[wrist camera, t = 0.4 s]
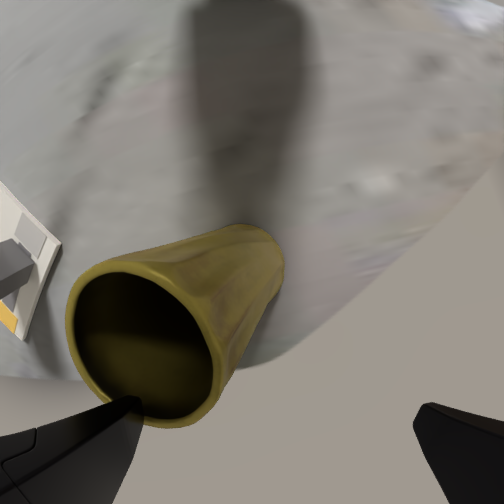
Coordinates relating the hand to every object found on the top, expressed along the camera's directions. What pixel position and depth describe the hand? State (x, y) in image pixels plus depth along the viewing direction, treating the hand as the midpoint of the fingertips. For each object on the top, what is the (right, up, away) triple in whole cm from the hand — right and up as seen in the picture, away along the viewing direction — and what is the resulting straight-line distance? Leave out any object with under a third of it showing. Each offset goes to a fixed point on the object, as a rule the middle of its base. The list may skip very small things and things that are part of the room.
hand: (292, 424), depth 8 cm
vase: (-2, +4, +14) cm, 14 cm away
